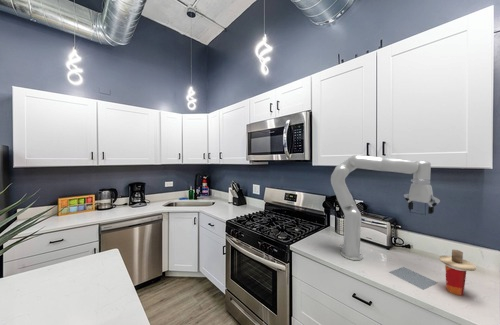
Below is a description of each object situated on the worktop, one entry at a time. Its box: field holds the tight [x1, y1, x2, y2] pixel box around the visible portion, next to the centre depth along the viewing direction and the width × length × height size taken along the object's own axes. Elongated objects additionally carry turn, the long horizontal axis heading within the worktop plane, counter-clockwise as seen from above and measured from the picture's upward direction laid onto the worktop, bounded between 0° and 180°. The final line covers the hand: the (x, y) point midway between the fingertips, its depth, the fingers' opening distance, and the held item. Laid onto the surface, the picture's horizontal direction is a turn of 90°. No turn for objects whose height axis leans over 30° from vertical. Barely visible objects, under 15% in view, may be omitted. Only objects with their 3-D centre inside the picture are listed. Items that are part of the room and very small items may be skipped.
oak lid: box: [439, 249, 477, 272], centre depth 95 cm, size 12×12×6 cm
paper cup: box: [444, 264, 467, 296], centre depth 95 cm, size 8×8×14 cm
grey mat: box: [388, 266, 439, 290], centre depth 106 cm, size 16×14×1 cm
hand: (420, 211), depth 116 cm, fingers open, 9 cm apart
